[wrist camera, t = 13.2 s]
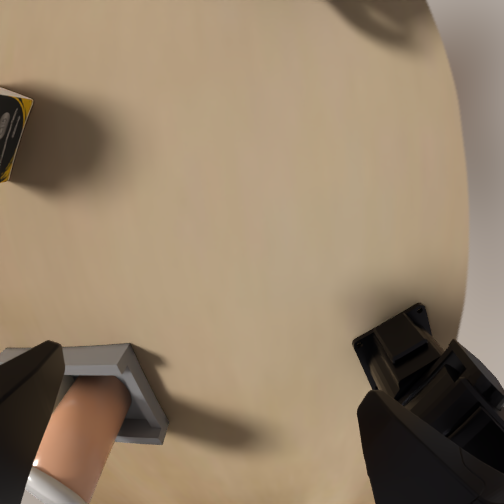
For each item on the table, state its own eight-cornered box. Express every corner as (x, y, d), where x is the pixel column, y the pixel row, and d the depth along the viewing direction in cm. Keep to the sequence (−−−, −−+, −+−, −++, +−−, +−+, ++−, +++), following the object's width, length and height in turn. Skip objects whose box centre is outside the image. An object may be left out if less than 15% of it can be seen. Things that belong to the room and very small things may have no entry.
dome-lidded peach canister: (137, 385, 23) (85, 508, 11) (127, 420, 24) (85, 525, 12) (80, 356, 22) (6, 461, 10) (76, 394, 24) (20, 488, 11)
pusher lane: (129, 343, 22) (111, 372, 18) (169, 422, 25) (160, 452, 21) (6, 347, 23) (-14, 366, 20) (45, 412, 26) (31, 433, 22)
